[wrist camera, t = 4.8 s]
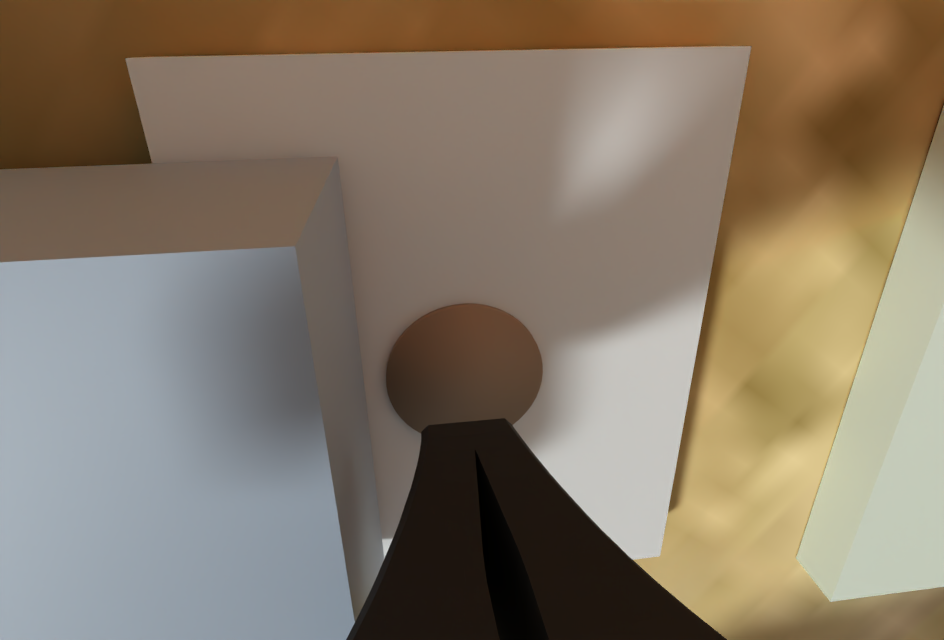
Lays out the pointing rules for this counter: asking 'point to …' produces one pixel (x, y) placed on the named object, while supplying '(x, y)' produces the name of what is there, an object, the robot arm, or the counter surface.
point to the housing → (182, 405)
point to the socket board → (891, 428)
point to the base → (502, 238)
